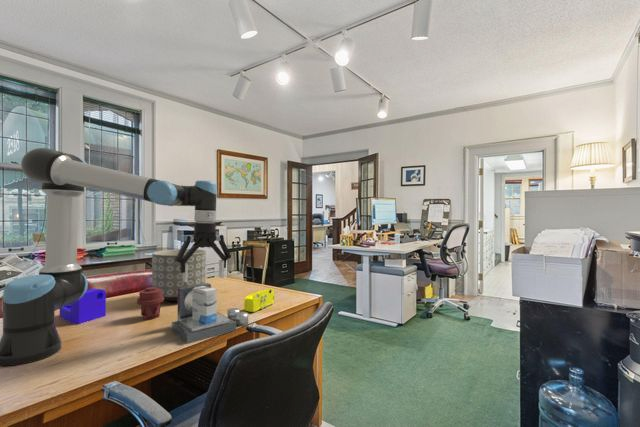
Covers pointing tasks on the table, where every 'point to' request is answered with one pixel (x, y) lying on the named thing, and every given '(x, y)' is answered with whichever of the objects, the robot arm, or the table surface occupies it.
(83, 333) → the table surface
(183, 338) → the base
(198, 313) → the ink box
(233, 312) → the cylinder
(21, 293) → the robot arm
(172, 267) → the planter
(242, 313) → the cylinder
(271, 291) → the yellow toy chassis
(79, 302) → the bracket
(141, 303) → the mechanical component
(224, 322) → the scale pan
